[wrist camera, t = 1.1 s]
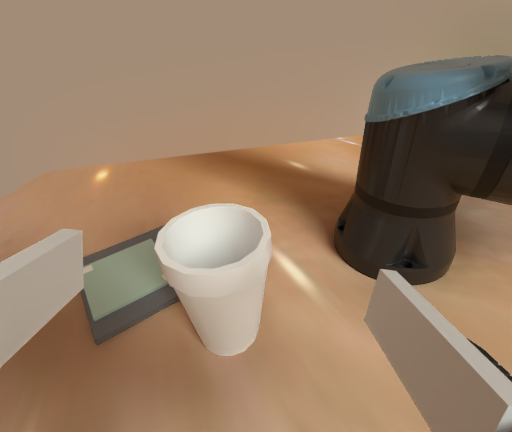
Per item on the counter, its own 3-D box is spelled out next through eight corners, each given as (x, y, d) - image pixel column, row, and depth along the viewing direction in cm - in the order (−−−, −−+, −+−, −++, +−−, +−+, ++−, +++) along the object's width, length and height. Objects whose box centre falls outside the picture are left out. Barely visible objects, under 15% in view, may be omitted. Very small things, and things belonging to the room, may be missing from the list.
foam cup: (290, 338, 29) (293, 241, 22) (209, 393, 25) (180, 296, 18) (243, 282, 36) (234, 193, 29) (173, 318, 32) (141, 225, 25)
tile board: (211, 210, 50) (210, 204, 50) (262, 254, 40) (262, 248, 39) (74, 266, 40) (71, 260, 39) (97, 344, 30) (93, 338, 29)
